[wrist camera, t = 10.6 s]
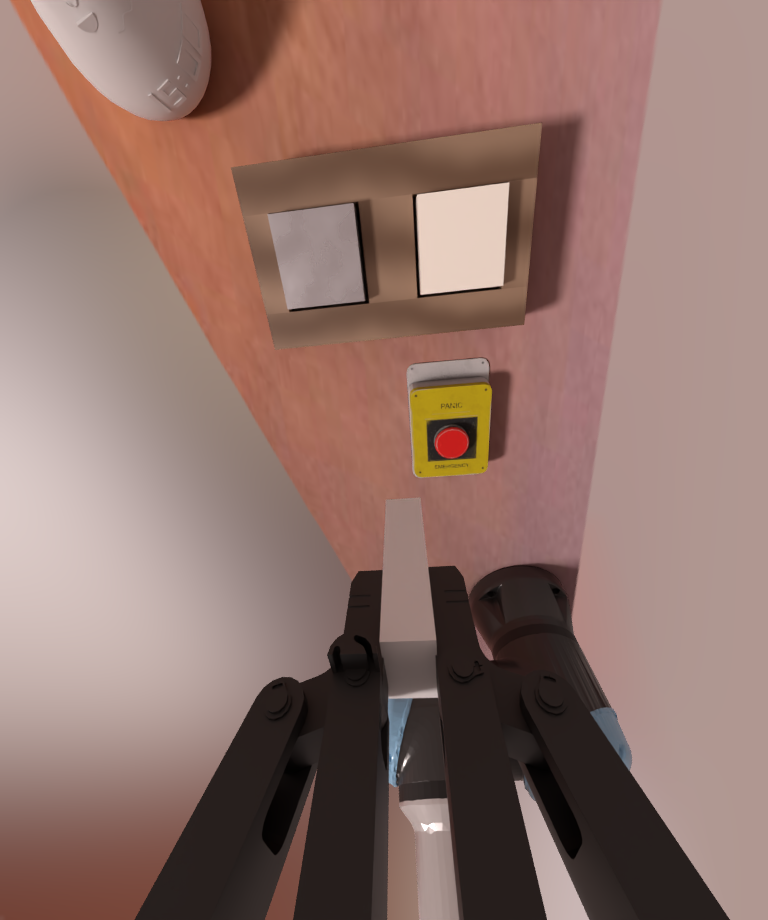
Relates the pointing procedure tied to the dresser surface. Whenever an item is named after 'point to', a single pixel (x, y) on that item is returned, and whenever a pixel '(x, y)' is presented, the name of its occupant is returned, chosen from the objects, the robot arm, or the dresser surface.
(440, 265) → the cream key
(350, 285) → the steel key
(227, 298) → the dresser surface
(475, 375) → the emergency button
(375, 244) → the brown wooden flat block
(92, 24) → the toy character
